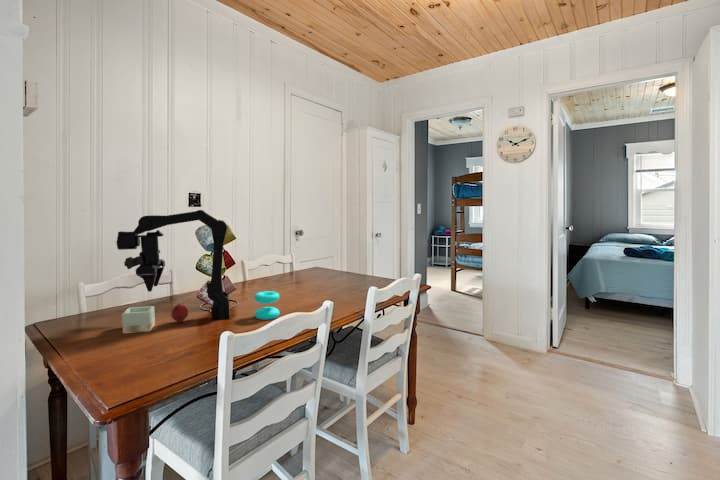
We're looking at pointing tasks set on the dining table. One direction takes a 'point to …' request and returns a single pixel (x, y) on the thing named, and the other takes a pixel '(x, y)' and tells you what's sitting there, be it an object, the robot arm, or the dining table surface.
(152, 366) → the dining table surface
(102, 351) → the dining table surface
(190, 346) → the dining table surface
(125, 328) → the base block
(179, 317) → the onion
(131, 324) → the pale green open box
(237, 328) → the dining table surface
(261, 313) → the donuts
